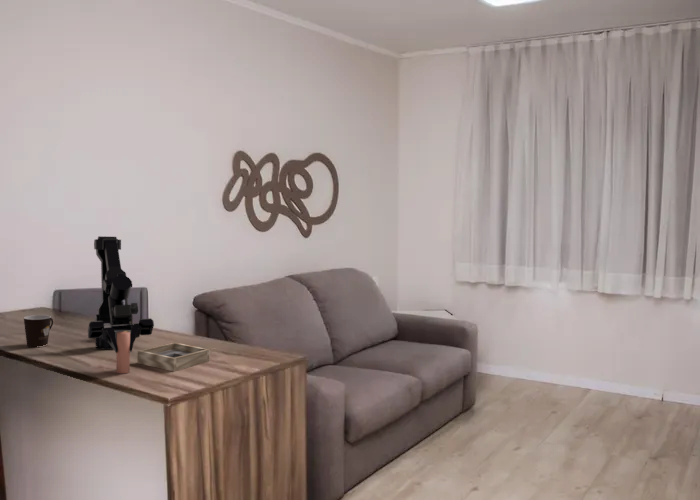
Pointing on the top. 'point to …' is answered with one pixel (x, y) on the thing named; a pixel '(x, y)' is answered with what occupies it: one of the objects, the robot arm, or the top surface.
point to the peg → (123, 352)
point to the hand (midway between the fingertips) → (123, 351)
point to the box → (173, 356)
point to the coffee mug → (37, 329)
